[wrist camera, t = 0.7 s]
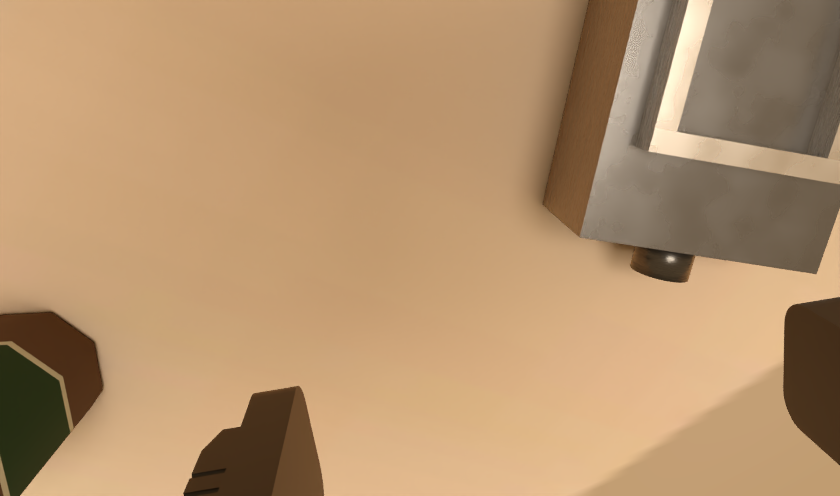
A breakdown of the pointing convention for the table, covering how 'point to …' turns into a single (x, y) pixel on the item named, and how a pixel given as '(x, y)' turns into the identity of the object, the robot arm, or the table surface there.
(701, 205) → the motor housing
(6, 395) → the beer bottle
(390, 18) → the table surface
